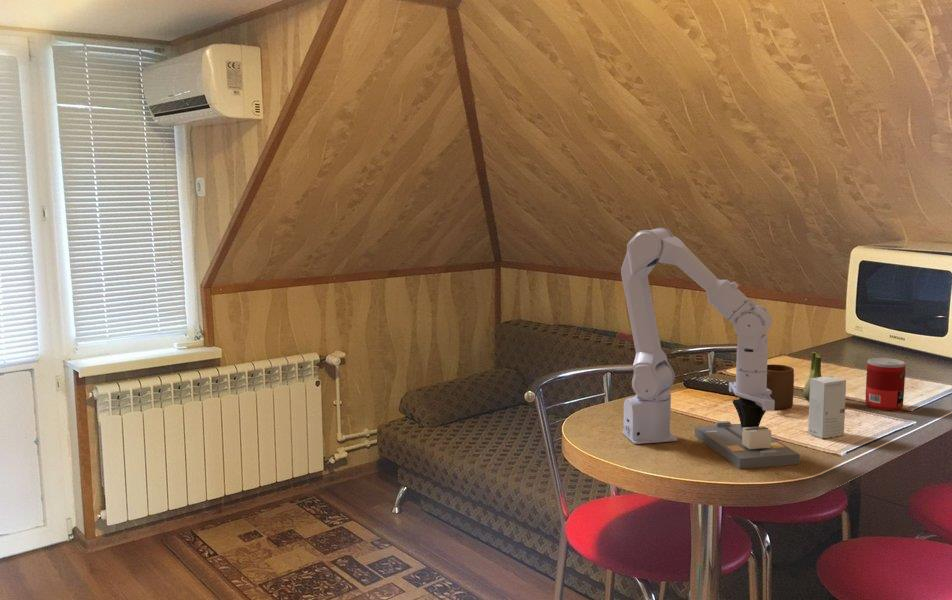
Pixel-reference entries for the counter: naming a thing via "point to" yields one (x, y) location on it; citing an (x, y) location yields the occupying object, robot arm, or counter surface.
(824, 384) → the skincare box
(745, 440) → the fader knob
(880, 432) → the counter surface
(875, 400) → the canned food
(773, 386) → the mug
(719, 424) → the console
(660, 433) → the robot arm
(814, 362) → the fennel bulb
